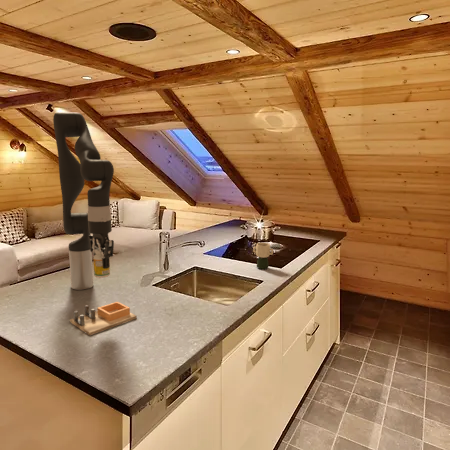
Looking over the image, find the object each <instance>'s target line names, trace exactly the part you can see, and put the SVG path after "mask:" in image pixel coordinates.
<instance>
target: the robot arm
mask: <svg viewBox="0 0 450 450" xmlns="http://www.w3.org/2000/svg"><path fill="white" fill-rule="evenodd" d="M52 121H53V122H52V123H53V130H54V136H55V141H56V148H57V157H58V158H57V159H58V173H59V183H60V191H61V198H62V201H61V202H62V222H63V223H62V224H63V230H64V234H66V235H81V237H79V238H78V239H76V240H73V241H71V242H69V243H68V257H69V259H68V260H69V272H70V274H69V275H70V286H71V289H72V290H75V291H76V290H78V291H81V290H88V289H91V288H92V287H94V267H93V257H94V256H95V255H96V254H95V249H97V248H99V251H100V252H101V253H102V257H103V258H102V262H103V268H104V269H106V268H109V267H110V266H111V264H110V263H109V260H110V258H112V257H114V246H115V242H114V239H110V237H109V234H110V233H111V232H112V228H113V227H112V212H111V206H110V192H111V185H112V182H113V177H114V172H115V171H114V170H115V169H114V164H113V163H112V162H111V161H110V160H108V159H101V153H100V152H99V151H98V149H97V147H96V146H95V144H94V141H93V139H92V135H91V132H90V129H89V127H88V123H87V121H86V119H85V117H84V116H83V114H82V113H80V112H76V111H75V112H73V111H71V112H68V111H67V112H66V111H65V112H64V111H62V112H61V111H59V112H54V114H53V119H52ZM67 138H77V139H76V140H75V144H74V152H75V154H76V156H77V158H78V159H77V158H76V156H74V153H72V151H71V150H70V147H69V146H68V144H67V141H66V139H67ZM85 181H87V182H100V184H99V185H98V186H96V187H93V188H89V189H88V190H87V192H86V193H87V194H86V195H87V212H72V209H73V206H74V204H75V202H76V201H77V199H78V197H79V196H80V194H81V193H82V191H83V189H84V187H85ZM102 248H105V249H102ZM104 251H105V253H104ZM110 268H111V267H110Z"/></svg>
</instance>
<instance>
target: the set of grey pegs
mask: <svg viewBox="0 0 450 450" xmlns="http://www.w3.org/2000/svg"><path fill="white" fill-rule="evenodd" d="M95 311H96V309H95V308H92V309H91V308H90V305H88V304H86V305H84V314H80V315H79V311H78V310H74V311H73V318H74V321H75V322H76V323H78V324H79V325H81V326H84V325H85V323H84V315H86V316H87V317H89V318H91V319H92V320H93V319H96V317H95ZM90 313H91V314H90ZM78 317H80V320H79V319H78Z"/></svg>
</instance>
